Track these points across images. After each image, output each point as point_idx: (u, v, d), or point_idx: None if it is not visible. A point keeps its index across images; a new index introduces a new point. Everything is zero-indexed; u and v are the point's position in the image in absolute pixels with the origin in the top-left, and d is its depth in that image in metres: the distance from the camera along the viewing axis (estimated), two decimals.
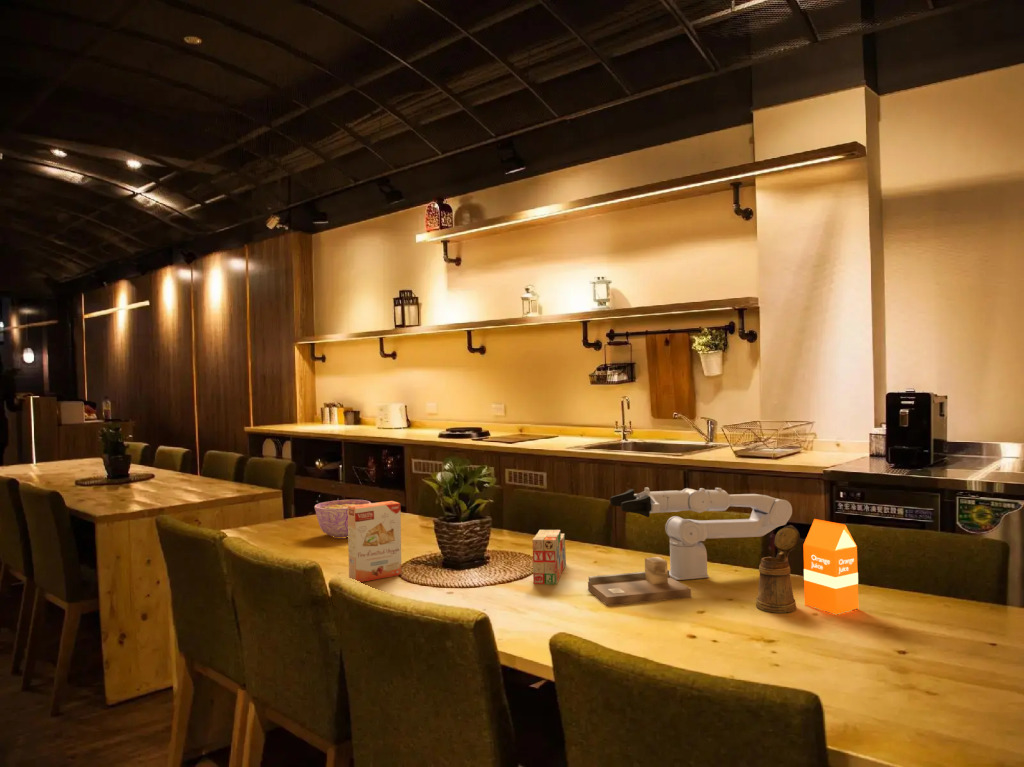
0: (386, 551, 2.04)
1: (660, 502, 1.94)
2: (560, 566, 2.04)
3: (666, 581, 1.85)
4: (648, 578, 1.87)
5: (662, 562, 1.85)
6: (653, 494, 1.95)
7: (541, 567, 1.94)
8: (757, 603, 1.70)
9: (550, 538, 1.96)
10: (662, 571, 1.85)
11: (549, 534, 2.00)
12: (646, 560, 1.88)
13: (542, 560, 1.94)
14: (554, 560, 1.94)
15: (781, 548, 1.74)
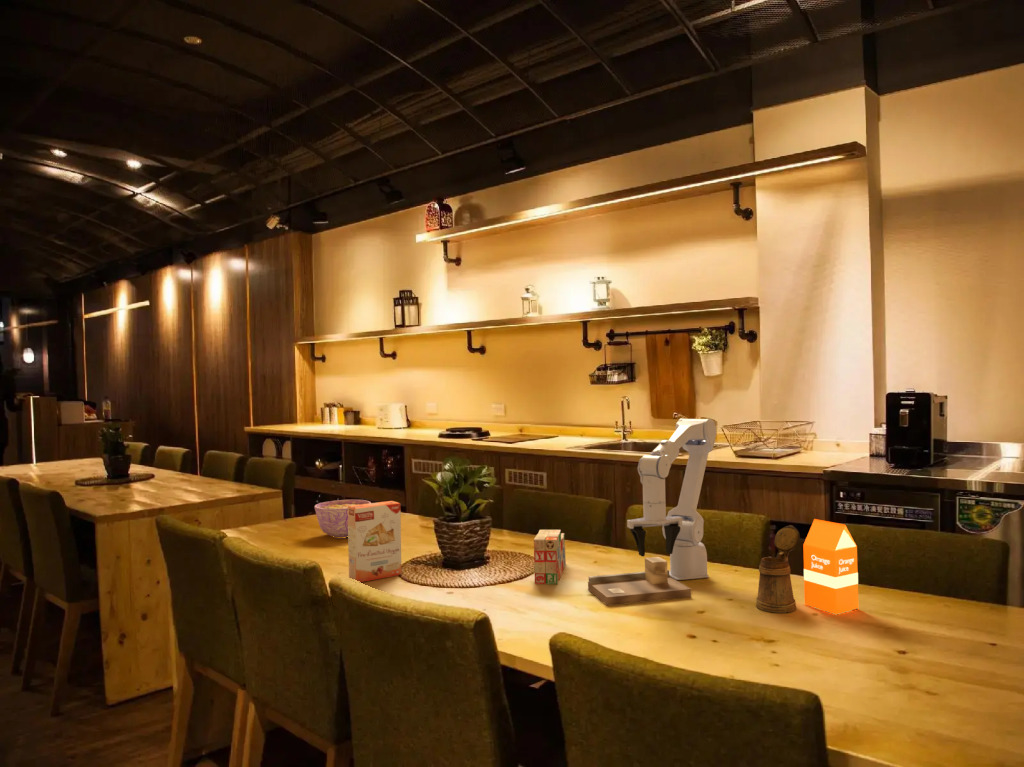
0: (386, 551, 2.04)
1: None
2: (561, 566, 2.04)
3: (666, 581, 1.85)
4: (648, 578, 1.87)
5: (662, 562, 1.85)
6: (664, 516, 1.85)
7: (542, 567, 1.95)
8: (757, 603, 1.70)
9: (551, 538, 1.96)
10: (662, 571, 1.85)
11: (550, 534, 2.00)
12: (646, 560, 1.88)
13: (543, 560, 1.95)
14: (555, 560, 1.94)
15: (781, 548, 1.74)
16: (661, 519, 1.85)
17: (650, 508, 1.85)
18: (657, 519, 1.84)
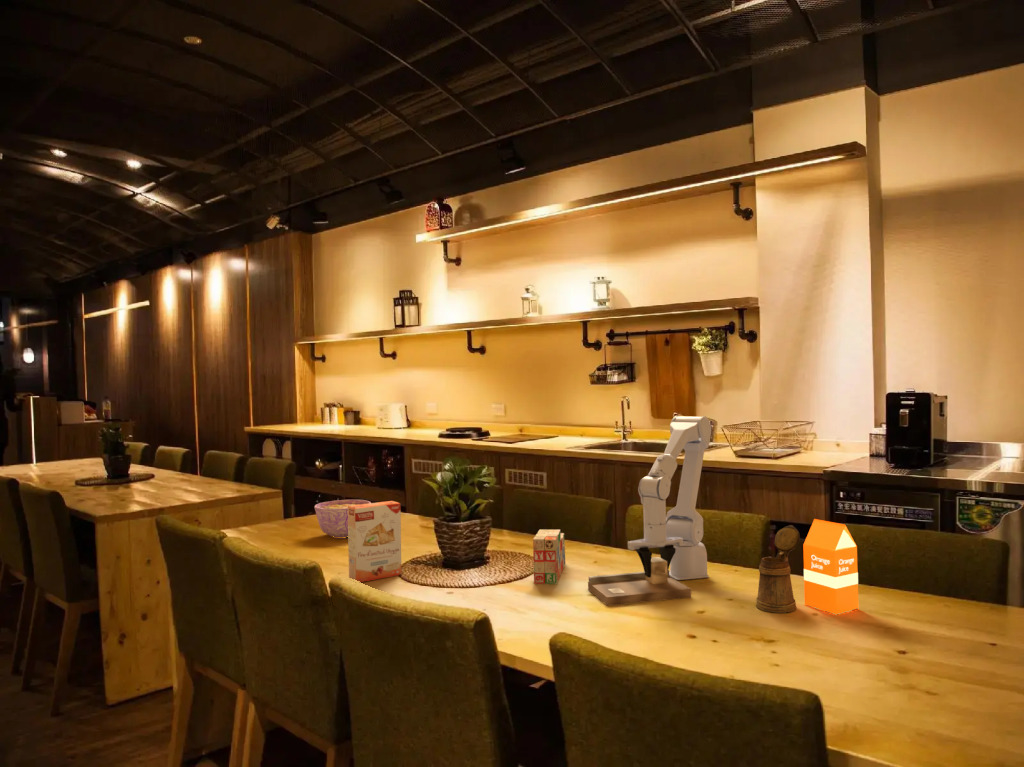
0: (386, 551, 2.04)
1: None
2: None
3: (666, 581, 1.85)
4: (648, 578, 1.87)
5: (662, 562, 1.85)
6: (664, 537, 1.85)
7: (541, 566, 1.95)
8: (757, 603, 1.70)
9: (550, 538, 1.96)
10: (662, 571, 1.85)
11: (549, 534, 2.00)
12: None
13: (542, 559, 1.95)
14: (555, 560, 1.94)
15: (781, 548, 1.74)
16: (662, 540, 1.85)
17: (651, 529, 1.85)
18: (658, 541, 1.84)
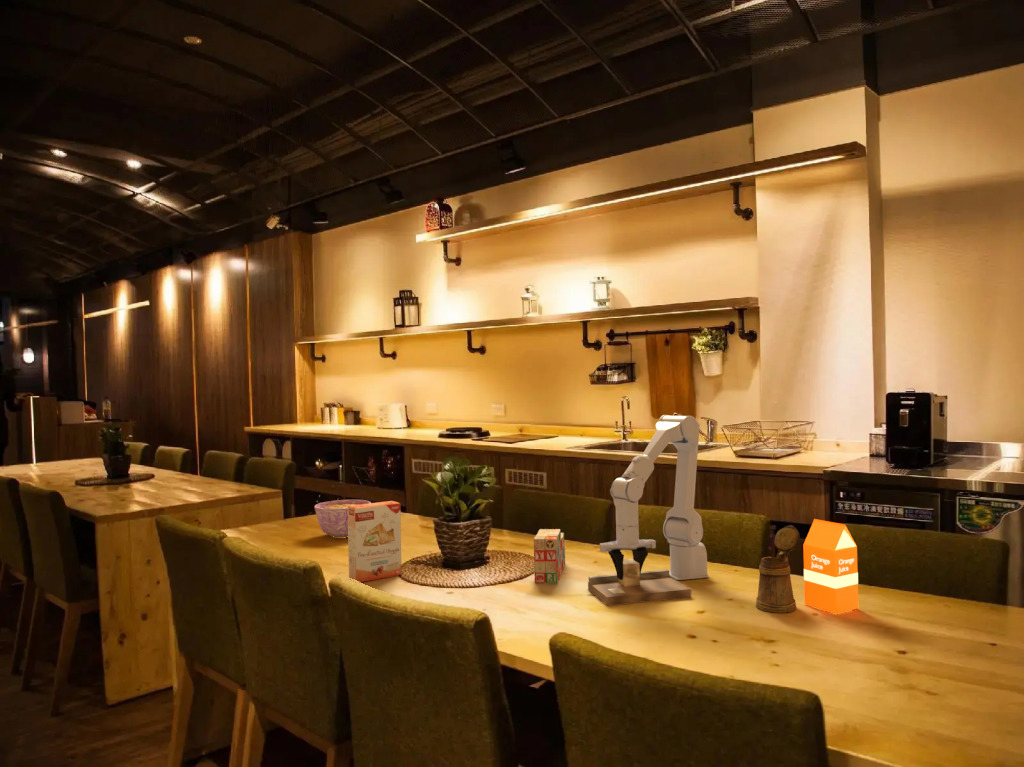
0: (386, 551, 2.04)
1: None
2: (560, 565, 2.05)
3: (638, 583, 1.84)
4: (620, 580, 1.86)
5: (634, 564, 1.83)
6: (636, 540, 1.84)
7: (542, 566, 1.95)
8: (757, 603, 1.70)
9: (551, 537, 1.96)
10: (634, 573, 1.83)
11: (550, 533, 2.00)
12: None
13: (543, 559, 1.95)
14: (555, 559, 1.95)
15: (781, 548, 1.74)
16: (634, 543, 1.83)
17: (623, 532, 1.83)
18: (630, 543, 1.83)
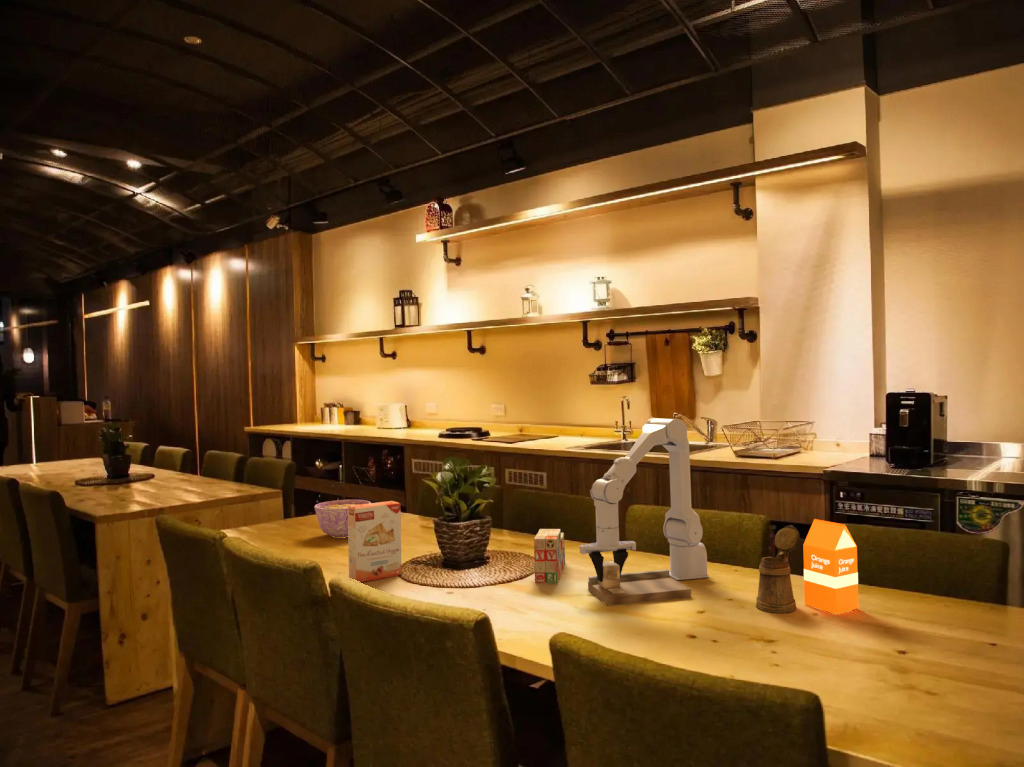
0: (386, 551, 2.04)
1: None
2: (560, 565, 2.05)
3: (618, 585, 1.82)
4: (600, 582, 1.84)
5: (614, 566, 1.82)
6: (616, 541, 1.82)
7: (542, 566, 1.95)
8: (757, 603, 1.70)
9: (551, 537, 1.97)
10: (614, 575, 1.82)
11: (550, 533, 2.01)
12: None
13: (543, 559, 1.95)
14: (555, 559, 1.95)
15: (781, 548, 1.74)
16: (614, 544, 1.82)
17: (602, 533, 1.82)
18: (609, 544, 1.82)
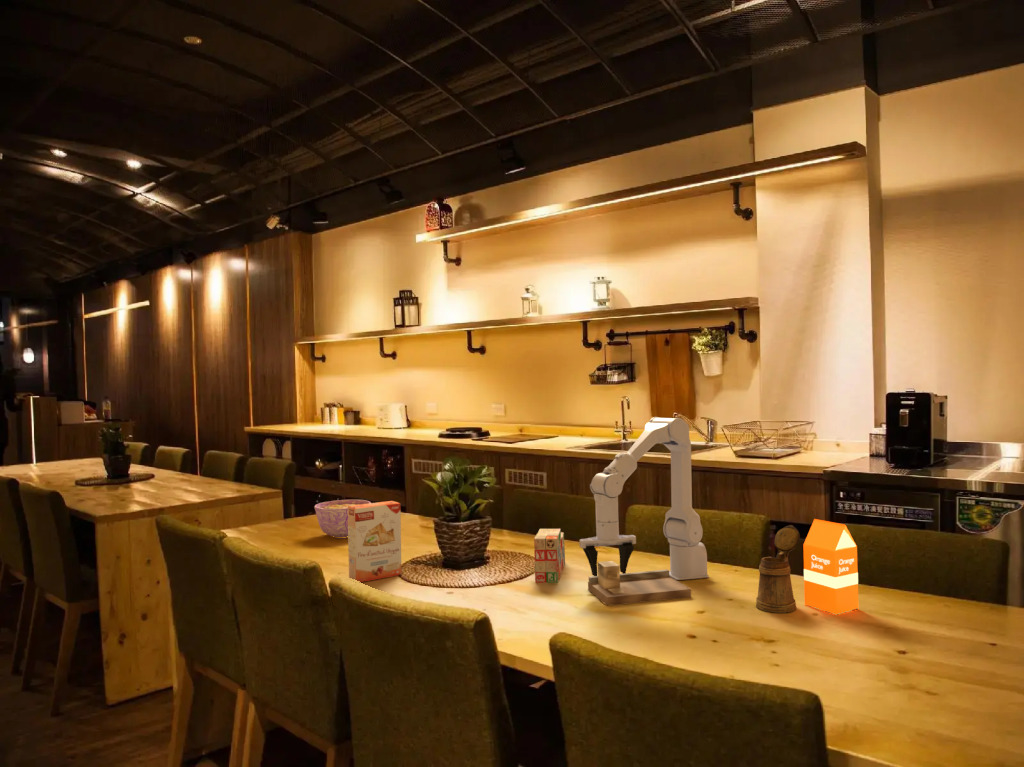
0: (386, 551, 2.04)
1: None
2: (560, 565, 2.05)
3: (618, 586, 1.82)
4: (600, 582, 1.84)
5: (614, 566, 1.82)
6: (616, 535, 1.82)
7: (542, 565, 1.96)
8: (757, 603, 1.70)
9: (551, 537, 1.97)
10: (614, 575, 1.82)
11: (550, 533, 2.01)
12: (599, 564, 1.85)
13: (544, 558, 1.96)
14: (556, 559, 1.95)
15: (781, 548, 1.74)
16: (613, 538, 1.82)
17: (602, 527, 1.82)
18: (609, 538, 1.82)
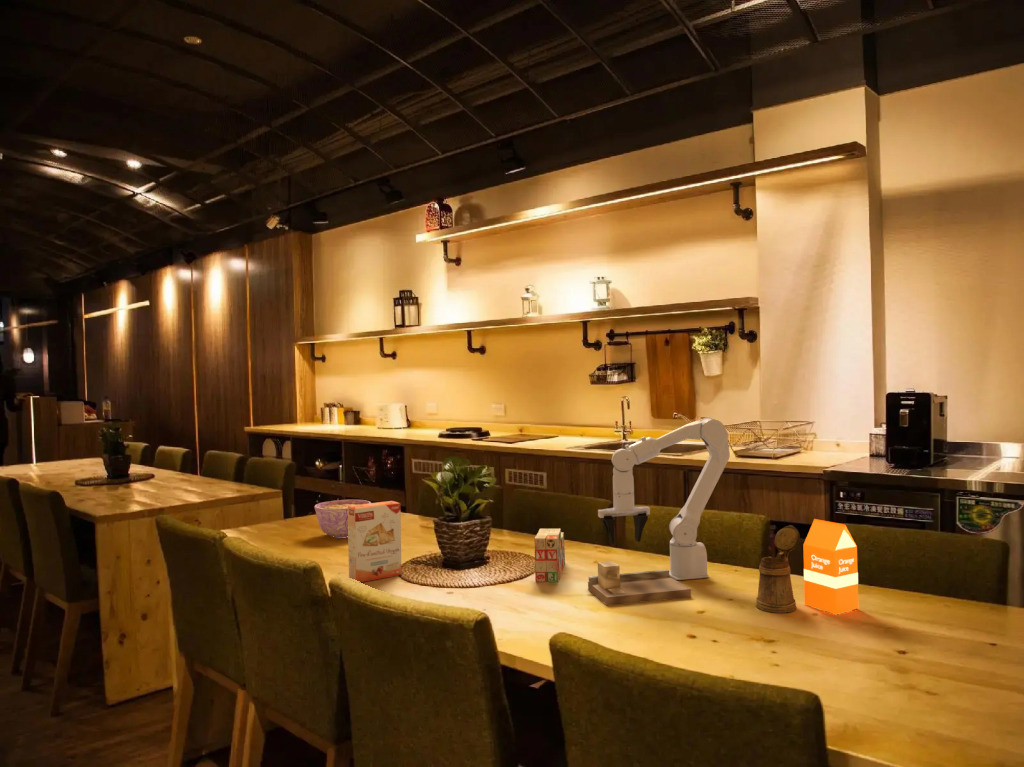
0: (386, 551, 2.04)
1: None
2: (561, 564, 2.05)
3: (618, 586, 1.82)
4: (600, 582, 1.84)
5: (614, 566, 1.82)
6: (632, 506, 1.98)
7: (543, 565, 1.96)
8: (757, 603, 1.70)
9: (552, 537, 1.97)
10: (614, 575, 1.82)
11: (550, 533, 2.01)
12: (599, 564, 1.85)
13: (544, 558, 1.96)
14: (556, 558, 1.95)
15: (781, 548, 1.74)
16: (629, 509, 1.97)
17: (619, 498, 1.98)
18: (626, 509, 1.97)
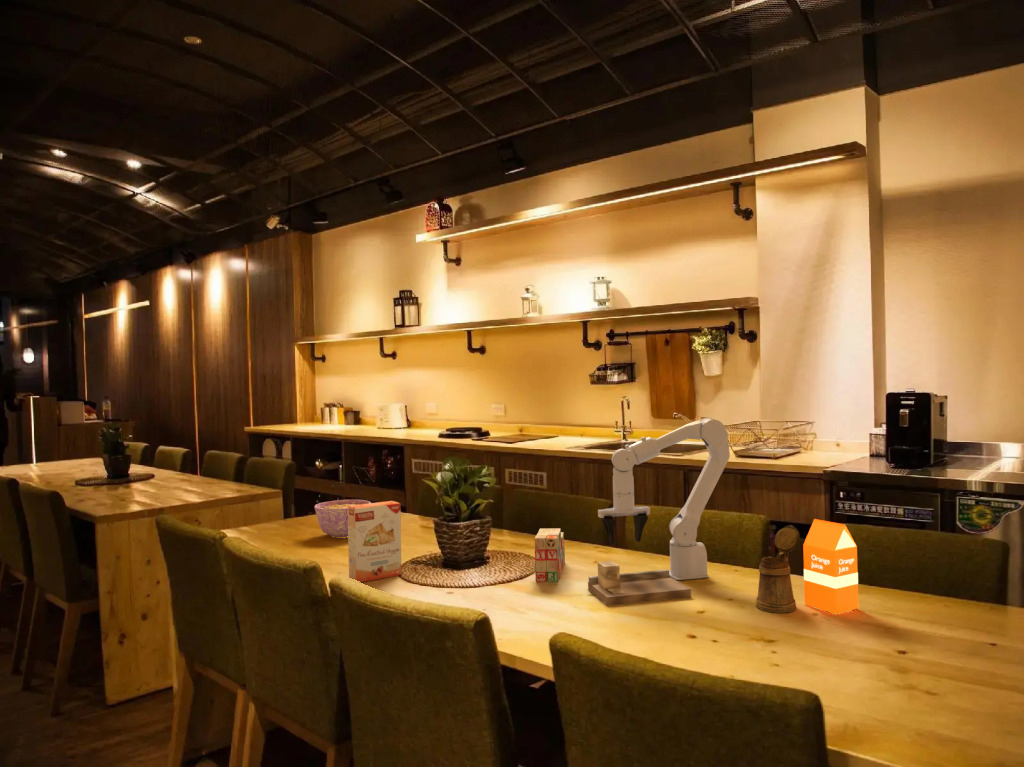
0: (386, 551, 2.04)
1: None
2: (561, 564, 2.06)
3: (618, 586, 1.82)
4: (600, 582, 1.84)
5: (614, 566, 1.82)
6: (632, 506, 1.98)
7: (543, 565, 1.96)
8: (757, 603, 1.70)
9: (552, 536, 1.97)
10: (614, 575, 1.82)
11: (550, 533, 2.01)
12: (599, 564, 1.85)
13: (544, 558, 1.96)
14: (556, 558, 1.96)
15: (781, 548, 1.74)
16: (629, 509, 1.97)
17: (619, 498, 1.98)
18: (626, 509, 1.97)
